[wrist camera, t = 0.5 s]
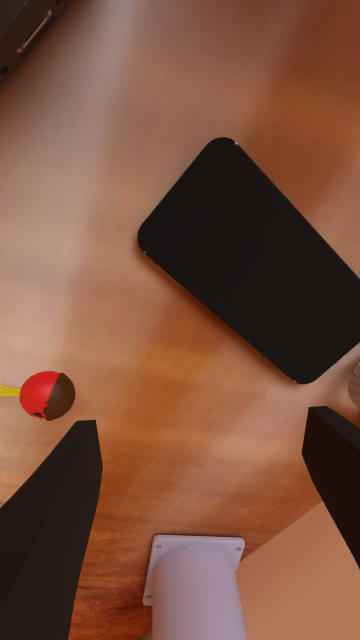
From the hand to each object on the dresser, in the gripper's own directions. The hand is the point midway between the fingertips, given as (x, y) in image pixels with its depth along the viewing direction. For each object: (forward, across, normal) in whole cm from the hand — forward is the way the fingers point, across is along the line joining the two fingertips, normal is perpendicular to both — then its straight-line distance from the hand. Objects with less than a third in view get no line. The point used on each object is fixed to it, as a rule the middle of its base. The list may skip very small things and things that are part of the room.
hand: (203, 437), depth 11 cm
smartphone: (+10, -5, -3) cm, 12 cm away
